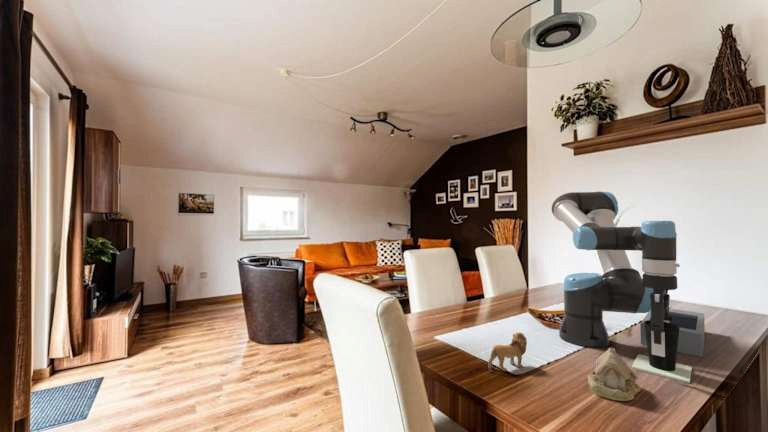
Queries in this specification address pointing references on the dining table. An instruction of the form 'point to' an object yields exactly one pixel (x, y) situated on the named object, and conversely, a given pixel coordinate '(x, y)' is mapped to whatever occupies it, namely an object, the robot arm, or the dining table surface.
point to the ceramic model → (613, 378)
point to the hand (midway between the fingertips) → (661, 348)
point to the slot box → (684, 331)
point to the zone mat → (679, 374)
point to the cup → (670, 347)
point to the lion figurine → (509, 351)
